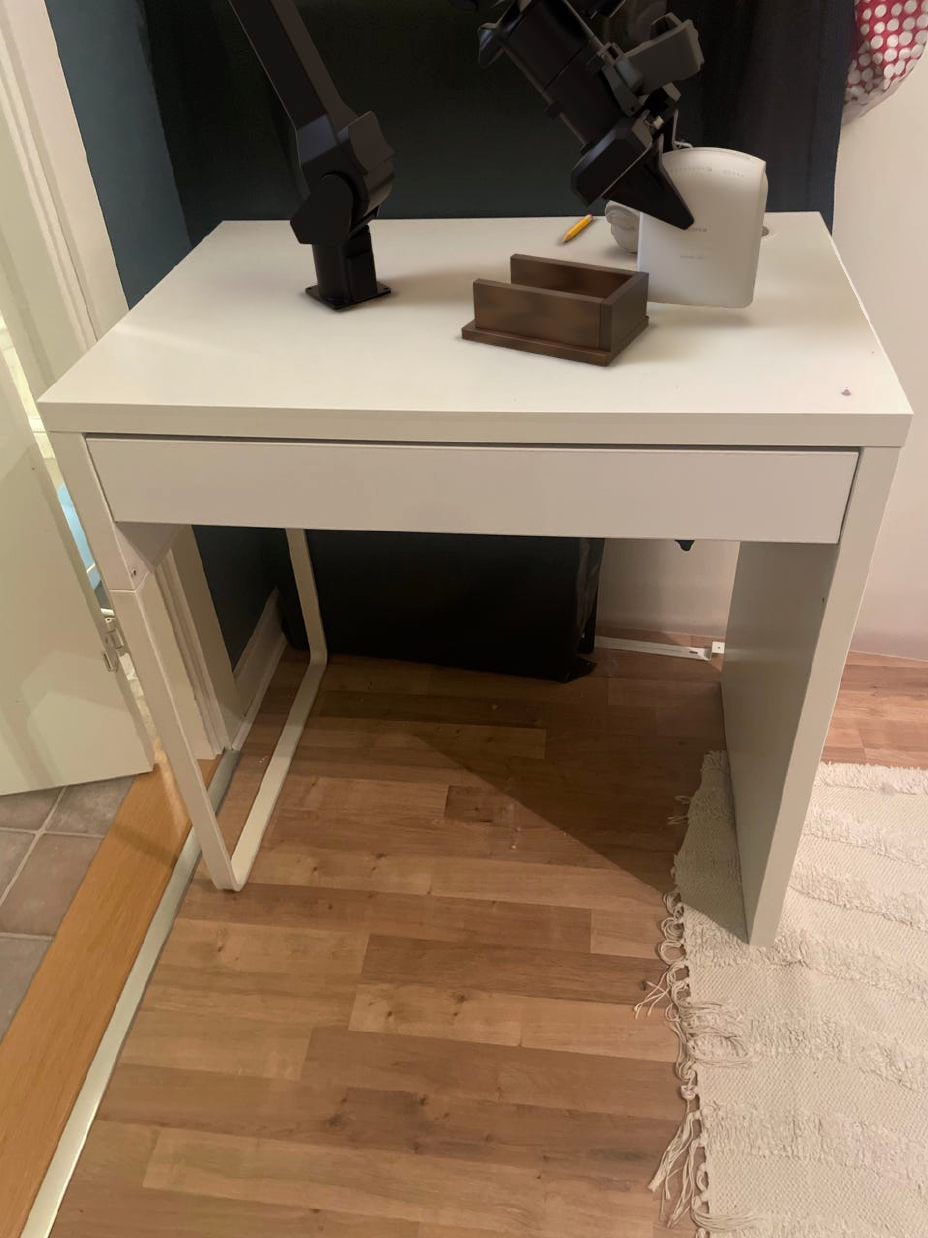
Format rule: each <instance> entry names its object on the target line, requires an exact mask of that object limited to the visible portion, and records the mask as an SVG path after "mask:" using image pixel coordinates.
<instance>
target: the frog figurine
mask: <svg viewBox="0 0 928 1238" xmlns="http://www.w3.org/2000/svg"><path fill="white" fill-rule="evenodd" d="M604 216H605V219H606V221H607V222H608V224H610V234H611V235H612V236H613V238H614V240H615V243H616V244H617V245H618V246H619V247H620V248H621V249H623V250H624V251H626V252H629V253H638V242H639V224H640V211H637V210H635V209H632V208H630V207H627V206H624V205H622V204H619V203H616V202H614V201H611V200H608V203H606V206H605V209H604Z"/></svg>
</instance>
